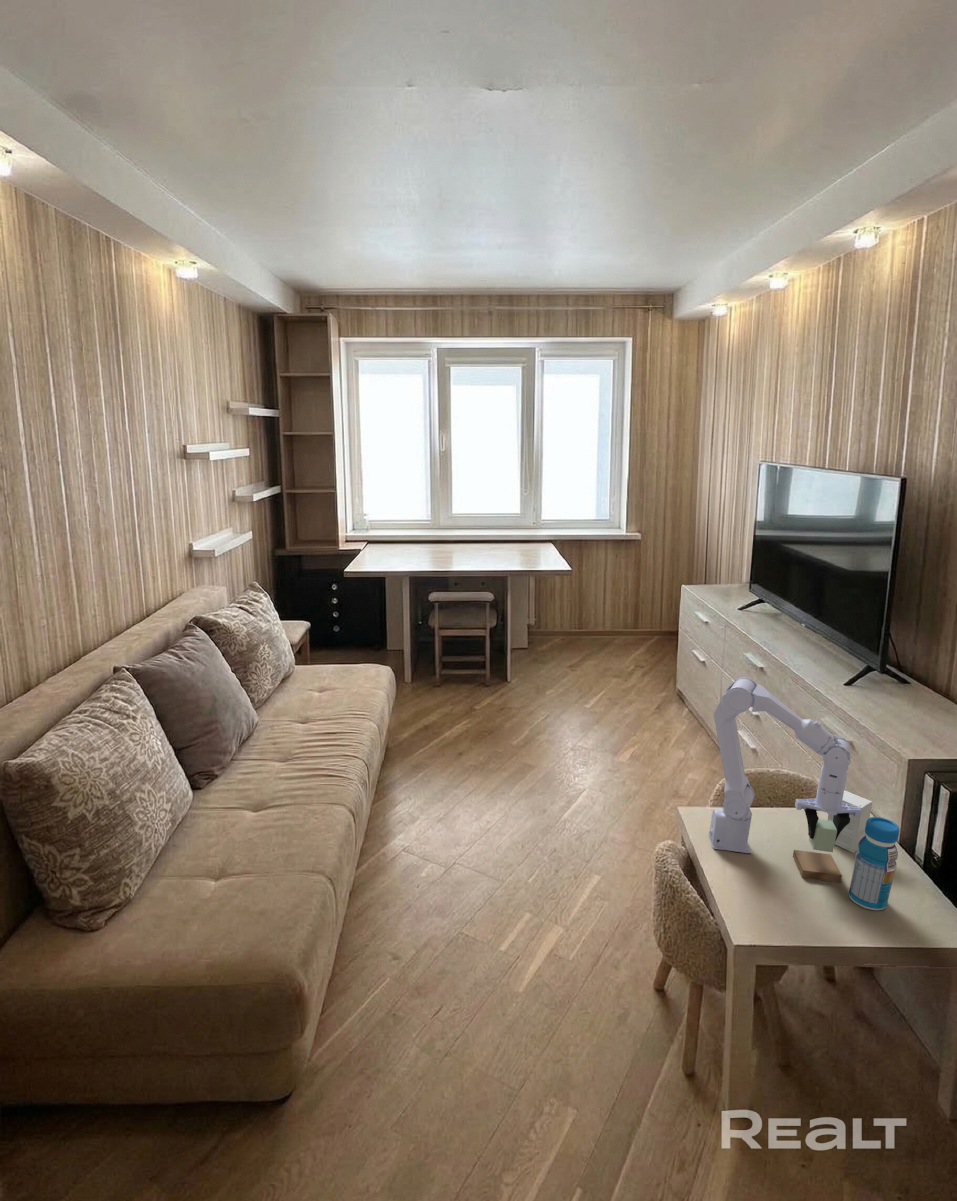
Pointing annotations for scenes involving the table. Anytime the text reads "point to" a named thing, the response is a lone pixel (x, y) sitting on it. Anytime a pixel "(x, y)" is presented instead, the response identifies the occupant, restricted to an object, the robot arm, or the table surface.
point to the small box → (853, 822)
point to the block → (824, 836)
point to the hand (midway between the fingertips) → (821, 838)
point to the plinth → (817, 866)
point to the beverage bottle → (875, 864)
